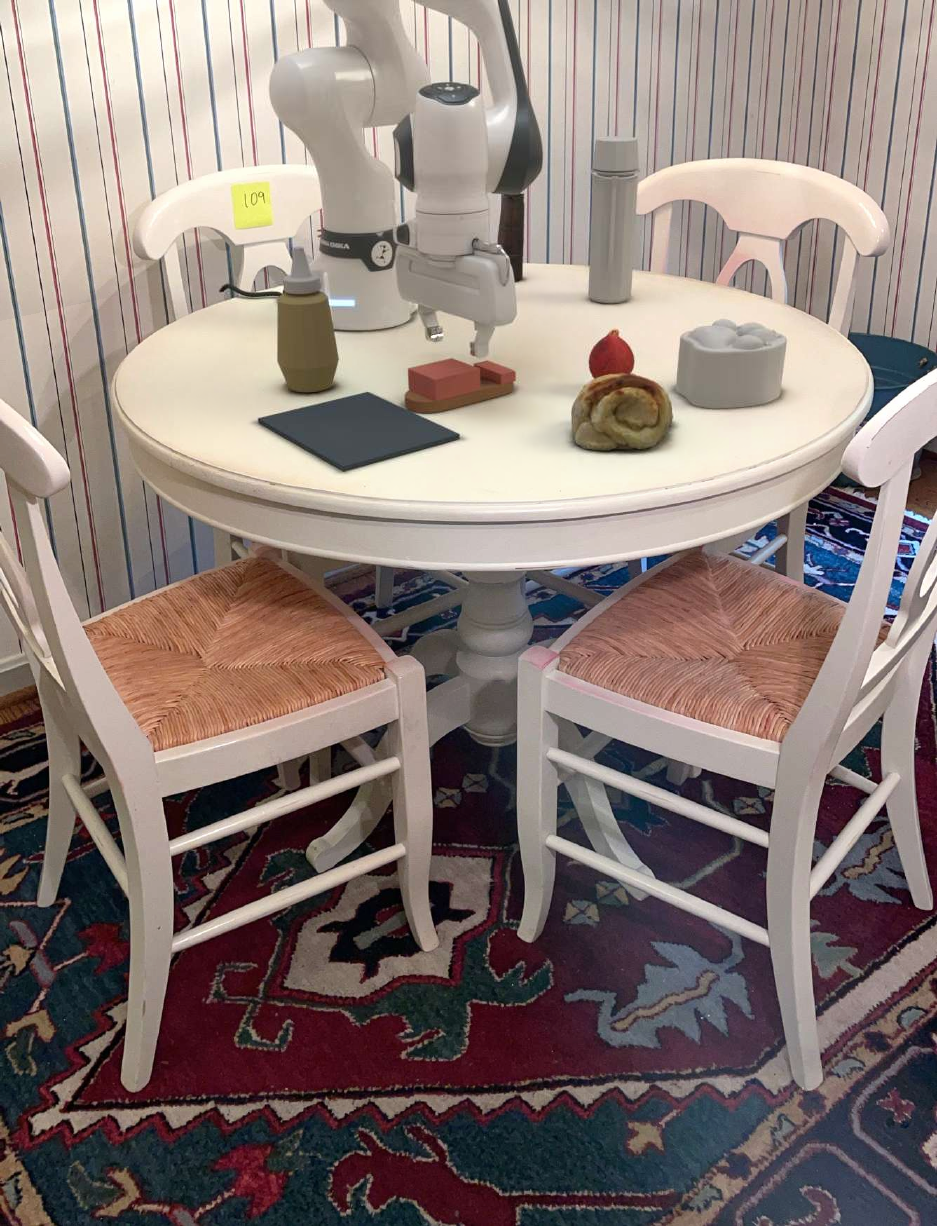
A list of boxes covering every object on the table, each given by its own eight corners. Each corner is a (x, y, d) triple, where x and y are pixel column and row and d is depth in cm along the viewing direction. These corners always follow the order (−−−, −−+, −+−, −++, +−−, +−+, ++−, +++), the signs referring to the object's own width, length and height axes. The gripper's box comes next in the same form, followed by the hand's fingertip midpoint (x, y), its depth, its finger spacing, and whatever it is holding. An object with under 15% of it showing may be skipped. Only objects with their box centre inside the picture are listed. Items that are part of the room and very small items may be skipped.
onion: (603, 399, 142) (606, 337, 138) (579, 387, 147) (581, 326, 143) (640, 392, 144) (644, 331, 141) (615, 380, 149) (619, 320, 145)
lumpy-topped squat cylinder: (668, 385, 147) (673, 319, 143) (759, 377, 149) (767, 312, 145) (699, 410, 138) (706, 341, 134) (796, 402, 140) (805, 334, 136)
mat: (258, 422, 136) (257, 418, 136) (368, 395, 145) (367, 391, 144) (343, 471, 122) (343, 466, 122) (459, 438, 131) (459, 433, 130)
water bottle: (586, 293, 190) (593, 135, 178) (633, 294, 189) (642, 135, 177) (584, 307, 182) (590, 143, 170) (632, 308, 181) (642, 143, 169)
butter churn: (519, 289, 194) (521, 113, 180) (472, 283, 198) (470, 111, 184) (543, 278, 200) (547, 108, 187) (497, 272, 205) (497, 106, 191)
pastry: (597, 461, 124) (600, 392, 120) (546, 426, 134) (548, 361, 130) (704, 441, 129) (710, 374, 125) (647, 409, 139) (651, 346, 135)
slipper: (494, 379, 150) (494, 347, 148) (522, 390, 146) (523, 358, 144) (395, 404, 142) (394, 371, 140) (422, 416, 137) (421, 382, 135)
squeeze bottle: (350, 380, 150) (341, 242, 141) (324, 399, 144) (313, 256, 135) (296, 375, 153) (284, 239, 144) (268, 393, 146) (254, 252, 137)
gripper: (529, 242, 127) (528, 361, 134) (425, 220, 142) (429, 328, 148) (486, 250, 124) (488, 371, 131) (384, 226, 138) (390, 336, 145)
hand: (456, 348), depth 140 cm, fingers open, 8 cm apart
